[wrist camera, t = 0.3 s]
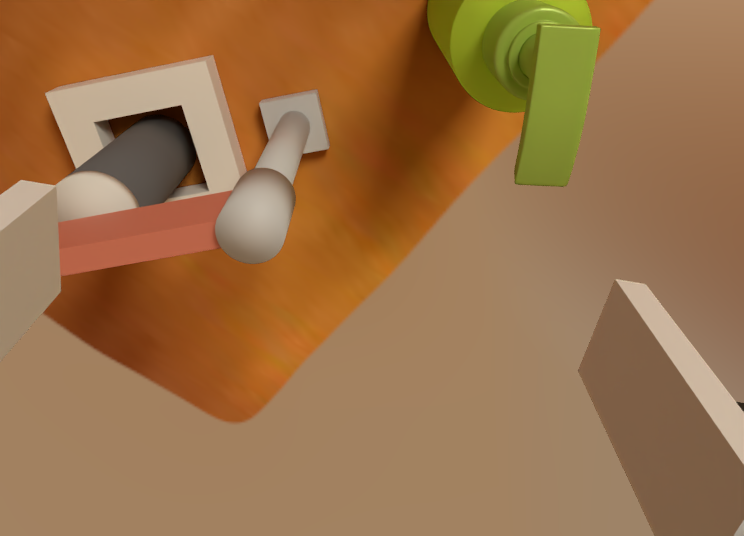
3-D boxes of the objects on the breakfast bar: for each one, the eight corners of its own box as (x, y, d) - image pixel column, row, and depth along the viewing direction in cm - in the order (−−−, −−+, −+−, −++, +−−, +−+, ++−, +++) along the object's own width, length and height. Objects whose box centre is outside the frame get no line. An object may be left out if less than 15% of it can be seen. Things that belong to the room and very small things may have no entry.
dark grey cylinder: (118, 121, 42) (29, 185, 31) (183, 108, 41) (117, 168, 30) (141, 185, 44) (66, 266, 33) (204, 173, 43) (149, 251, 32)
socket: (59, 86, 41) (-67, 145, 29) (305, 36, 39) (276, 77, 28) (117, 230, 45) (28, 332, 33) (340, 190, 44) (327, 281, 32)
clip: (-4, 216, 30) (-55, 254, 27) (287, 162, 29) (275, 194, 25) (22, 269, 31) (-24, 312, 28) (301, 219, 30) (292, 257, 27)
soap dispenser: (421, 76, 40) (459, 186, 22) (431, -48, 37) (484, -34, 19) (515, 81, 40) (627, 194, 23) (533, -42, 37) (680, -23, 19)
